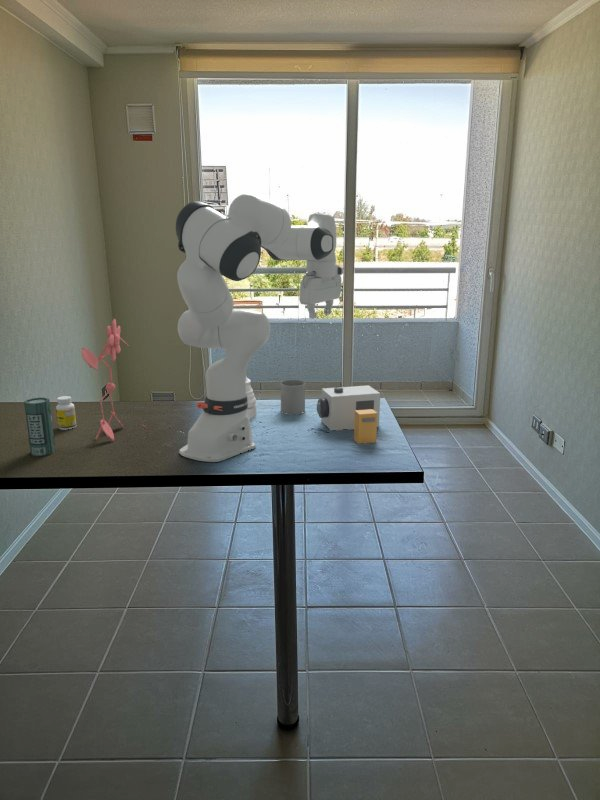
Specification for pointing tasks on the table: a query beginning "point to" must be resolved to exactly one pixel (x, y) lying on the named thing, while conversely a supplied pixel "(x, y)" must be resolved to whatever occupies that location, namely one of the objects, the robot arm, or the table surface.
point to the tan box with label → (365, 426)
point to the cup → (292, 396)
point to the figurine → (92, 361)
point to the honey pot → (250, 400)
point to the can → (39, 426)
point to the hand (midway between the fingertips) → (320, 316)
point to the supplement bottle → (65, 413)
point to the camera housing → (346, 405)
